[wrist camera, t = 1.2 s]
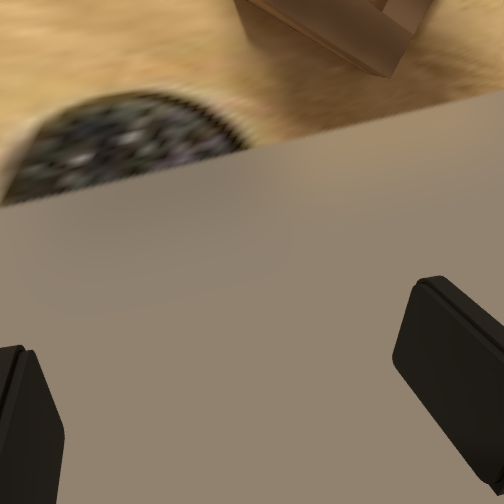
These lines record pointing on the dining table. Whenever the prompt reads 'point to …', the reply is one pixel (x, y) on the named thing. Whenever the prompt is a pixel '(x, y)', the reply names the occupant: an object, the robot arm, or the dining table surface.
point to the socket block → (355, 27)
